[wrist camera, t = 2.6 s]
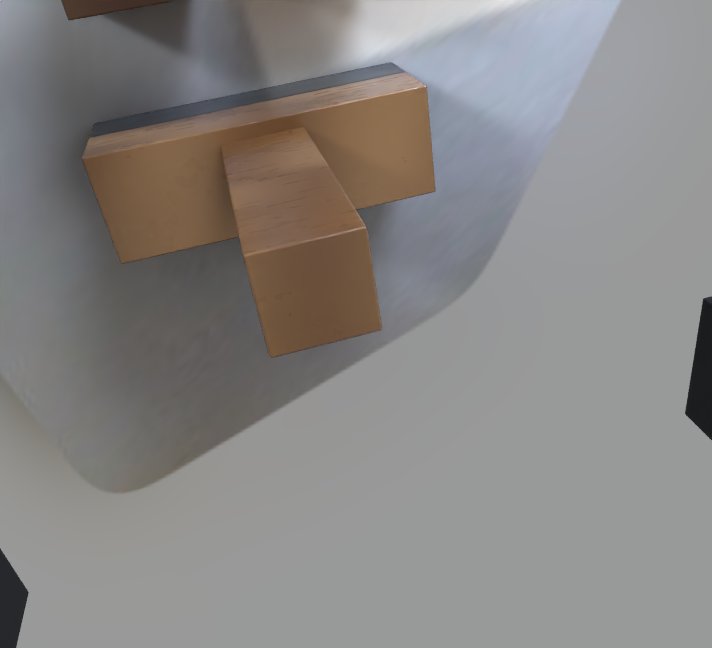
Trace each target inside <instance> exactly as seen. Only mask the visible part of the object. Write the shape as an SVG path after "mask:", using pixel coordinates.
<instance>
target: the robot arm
mask: <svg viewBox="0 0 712 648" xmlns="http://www.w3.org/2000/svg"><path fill="white" fill-rule="evenodd" d="M685 414H686V415H687V416H688V417H689V418H690V419H691V420H692V421H693V422H694V423H695V424H696V425H697V426H698V427H699V428H700V429H701V430H702V431H703V432H704V433H705V434H706V435H707V436H708V437H709V438H710V439H711V440H712V297H708V298H704V299H703V304H702V310H701V316H700V323H699V329H698V335H697V342H696V348H695V354H694V361H693V367H692V373H691V380H690V386H689V392H688V399H687V405H686V412H685ZM27 597H28V591H27V589H26V588H25V586H24V585H23V583H22V582H21V580H20V578H19V577H18V575H17V574H16V572H15V571H14V569H13V568H12V566H11V564H10V563H9V562H8V560H7V558H6V557H5V555H4V554H3V552H2V551H1V549H0V648H16V645H17V641H18V636H19V632H20V627H21V623H22V619H23V614H24V610H25V606H26V601H27Z"/></svg>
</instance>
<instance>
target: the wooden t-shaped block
mask: <svg viewBox="0 0 712 648" xmlns="http://www.w3.org/2000/svg"><path fill="white" fill-rule="evenodd" d="M82 162H83V165H84V167H85V170H86V173H87V175H88V178H89V181H90V183H91V186H92V188H93V191H94V194H95V196H96V199H97V202H98V204H99V207H100V210H101V212H102V215H103V218H104V220H105V223H106V226H107V228H108V231H109V233H110V236H111V239H112V241H113V244H114V247H115V249H116V252H117V255H118V257H119V260H120V263H121V264H124V263H128V262H132V261H137V260H141V259H145V258H150V257H154V256H158V255H163V254H167V253H171V252H176V251H180V250H184V249H189V248H193V247H197V246H202V245H206V244H210V243H215V242H219V241H223V240H228V239H232V238H236V237H239V240H240V245H241V249H242V254H243V259H244V262H245V266H246V270H247V274H248V278H249V281H250V285H251V289H252V293H253V296H254V300H255V304H256V308H257V312H258V315H259V319H260V323H261V327H262V331H263V334H264V338H265V342H266V346H267V349H268V353H269V356H270V357H271V358H274V357H278V356H282V355H285V354H289V353H293V352H297V351H301V350H305V349H309V348H313V347H317V346H321V345H325V344H329V343H333V342H337V341H341V340H345V339H349V338H353V337H356V336H360V335H364V334H368V333H372V332H376V331H380V330H381V329H382V325H381V318H380V311H379V305H378V298H377V291H376V284H375V278H374V271H373V264H372V257H371V250H370V244H369V237H368V230H367V227H366V225H365V224H364V222H363V221H362V219H361V217H360V216H359V214H358V213H357V211H356V210H358V209H362V208H366V207H371V206H375V205H379V204H384V203H388V202H392V201H397V200H401V199H405V198H410V197H414V196H418V195H423V194H427V193H431V192H435V180H434V168H433V156H432V144H431V133H430V121H429V109H428V97H427V86H426V85H424V84H423V83H421V82H420V81H419V80H417V79H416V78H414V77H413V76H411V75H410V74H408V73H407V72H405V71H404V70H402V69H401V68H399V67H398V66H396V65H395V64H393V63H391V62H390V63H386V64H381V65H376V66H371V67H366V68H361V69H356V70H352V71H347V72H342V73H337V74H332V75H327V76H322V77H318V78H313V79H308V80H303V81H298V82H293V83H289V84H284V85H279V86H274V87H269V88H264V89H259V90H255V91H250V92H245V93H240V94H235V95H230V96H225V97H221V98H216V99H211V100H206V101H201V102H196V103H191V104H187V105H182V106H177V107H172V108H167V109H162V110H157V111H153V112H148V113H143V114H138V115H133V116H128V117H123V118H119V119H114V120H109V121H104V122H99V123H95V124H94V126H93V129H92V132H91V134H90V137H89V140H88V142H87V145H86V148H85V151H84V154H83V156H82Z"/></svg>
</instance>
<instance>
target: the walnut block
mask: <svg viewBox="0 0 712 648" xmlns="http://www.w3.org/2000/svg"><path fill="white" fill-rule="evenodd" d="M61 1H62V4H63V7H64V9H65V12H66V15H67V18H68V20H75V19H80V18H85V17H91V16H96V15H101V14H107V13H112V12H117V11H123V10H128V9H133V8H139V7H144V6H149V5H155V4H160V3H165V2H171V1H176V0H61Z"/></svg>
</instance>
